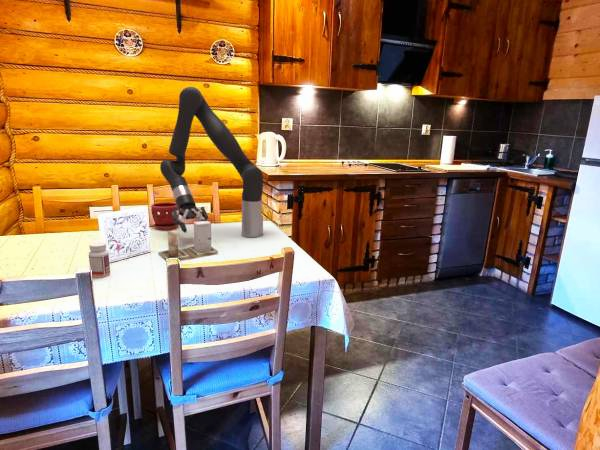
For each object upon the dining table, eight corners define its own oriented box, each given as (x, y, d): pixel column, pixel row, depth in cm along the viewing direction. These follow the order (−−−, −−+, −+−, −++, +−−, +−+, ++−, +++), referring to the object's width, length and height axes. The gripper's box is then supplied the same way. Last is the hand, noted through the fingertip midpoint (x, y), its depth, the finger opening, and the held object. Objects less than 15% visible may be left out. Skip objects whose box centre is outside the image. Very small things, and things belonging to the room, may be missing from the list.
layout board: (205, 247, 175) (205, 243, 174) (219, 256, 165) (219, 251, 164) (157, 256, 163) (157, 250, 162) (168, 266, 153) (168, 260, 152)
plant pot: (185, 227, 205) (184, 203, 202) (164, 232, 194) (163, 208, 191) (168, 222, 211) (166, 200, 208) (146, 228, 201) (145, 204, 198)
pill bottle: (106, 270, 147) (103, 240, 144) (113, 275, 143) (110, 244, 140) (87, 274, 142) (84, 243, 139) (95, 279, 138) (91, 247, 135)
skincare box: (197, 253, 164) (196, 224, 161) (193, 250, 167) (192, 221, 164) (212, 251, 167) (211, 222, 164) (207, 248, 171) (207, 220, 168)
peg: (176, 254, 162) (175, 229, 160) (179, 256, 160) (178, 232, 157) (167, 255, 160) (166, 231, 158) (170, 258, 157) (169, 233, 155)
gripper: (169, 194, 169) (181, 227, 163) (201, 192, 177) (213, 223, 172) (165, 204, 174) (176, 237, 169) (196, 201, 183) (208, 232, 177)
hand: (195, 230), depth 170 cm, fingers open, 8 cm apart
